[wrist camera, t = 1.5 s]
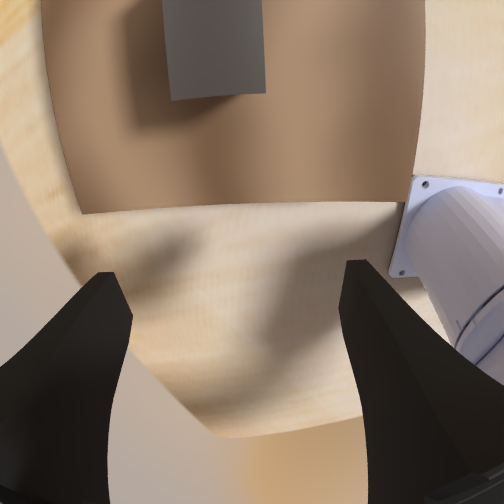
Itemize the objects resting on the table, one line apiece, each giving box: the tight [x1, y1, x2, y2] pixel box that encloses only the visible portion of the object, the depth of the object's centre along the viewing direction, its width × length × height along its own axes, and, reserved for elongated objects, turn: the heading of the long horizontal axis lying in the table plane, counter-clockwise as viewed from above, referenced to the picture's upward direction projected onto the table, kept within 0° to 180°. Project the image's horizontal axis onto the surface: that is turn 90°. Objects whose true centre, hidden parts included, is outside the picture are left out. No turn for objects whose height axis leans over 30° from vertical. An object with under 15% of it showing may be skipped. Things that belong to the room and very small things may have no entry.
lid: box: [41, 0, 426, 215], centre depth 7 cm, size 15×15×4 cm
